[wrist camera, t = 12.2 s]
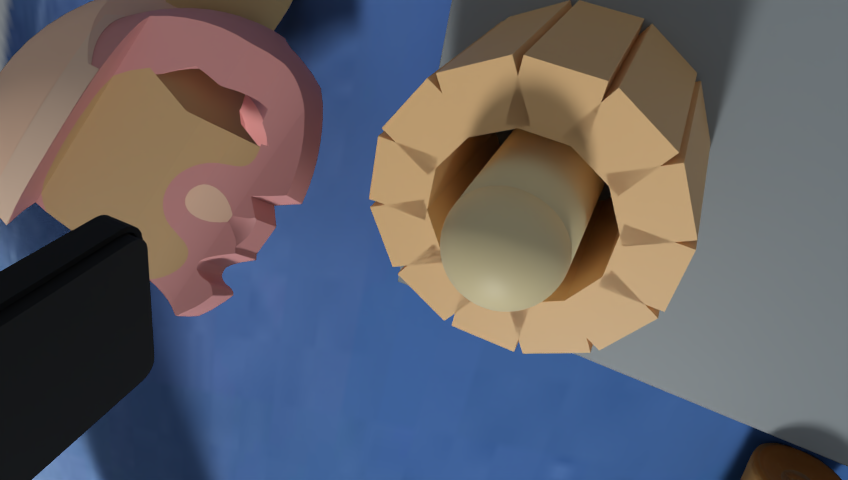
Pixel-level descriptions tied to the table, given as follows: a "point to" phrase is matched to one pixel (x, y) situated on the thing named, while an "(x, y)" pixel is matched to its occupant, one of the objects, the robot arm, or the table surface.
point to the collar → (570, 124)
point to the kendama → (785, 465)
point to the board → (720, 217)
